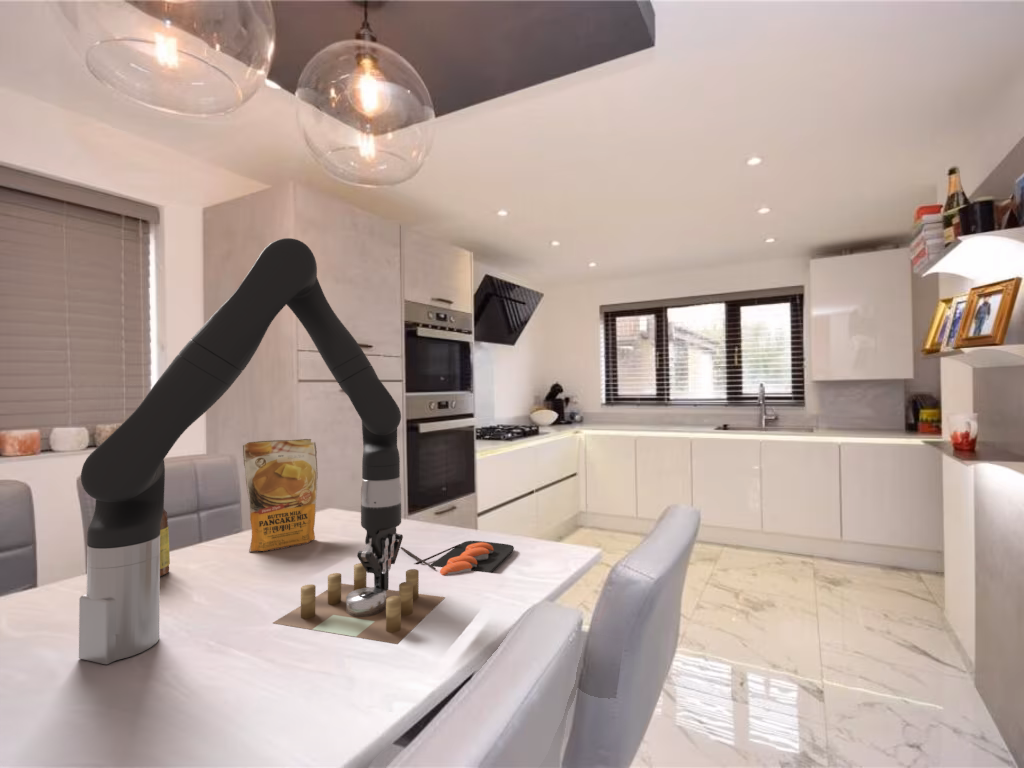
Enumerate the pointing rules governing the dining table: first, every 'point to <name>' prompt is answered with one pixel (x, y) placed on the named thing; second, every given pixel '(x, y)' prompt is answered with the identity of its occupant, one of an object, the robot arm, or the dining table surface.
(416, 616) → the board
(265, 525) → the pancake mix bag
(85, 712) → the dining table surface
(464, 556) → the sushi plate
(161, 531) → the sauce bottle
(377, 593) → the pot lid
